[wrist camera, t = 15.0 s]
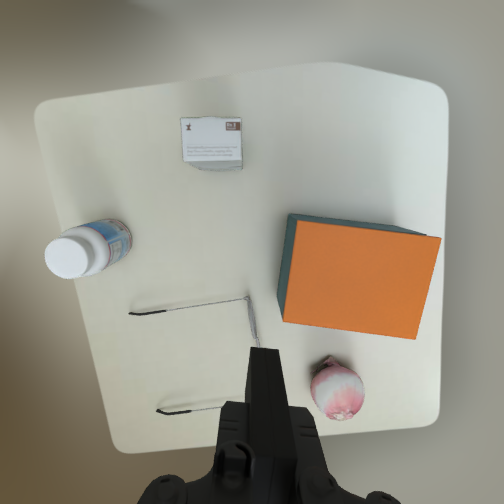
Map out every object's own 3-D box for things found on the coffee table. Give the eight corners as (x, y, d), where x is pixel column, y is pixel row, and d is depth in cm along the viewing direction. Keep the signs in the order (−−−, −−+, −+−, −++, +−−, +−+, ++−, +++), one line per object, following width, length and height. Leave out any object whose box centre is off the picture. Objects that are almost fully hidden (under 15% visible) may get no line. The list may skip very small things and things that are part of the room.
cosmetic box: (199, 170, 41) (179, 165, 29) (197, 136, 40) (176, 116, 28) (244, 170, 41) (242, 164, 29) (243, 135, 40) (241, 115, 28)
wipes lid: (438, 236, 34) (442, 238, 34) (412, 336, 37) (415, 340, 36) (297, 219, 35) (297, 220, 34) (282, 319, 38) (282, 322, 37)
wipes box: (395, 225, 43) (427, 234, 36) (377, 307, 46) (403, 331, 38) (288, 213, 43) (296, 219, 35) (276, 296, 45) (282, 319, 38)
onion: (303, 394, 49) (312, 429, 42) (310, 352, 48) (320, 381, 40) (351, 398, 49) (368, 433, 42) (359, 356, 48) (378, 385, 41)
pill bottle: (82, 229, 43) (25, 245, 32) (119, 211, 42) (74, 221, 31) (104, 266, 44) (57, 294, 33) (140, 249, 44) (104, 271, 33)
